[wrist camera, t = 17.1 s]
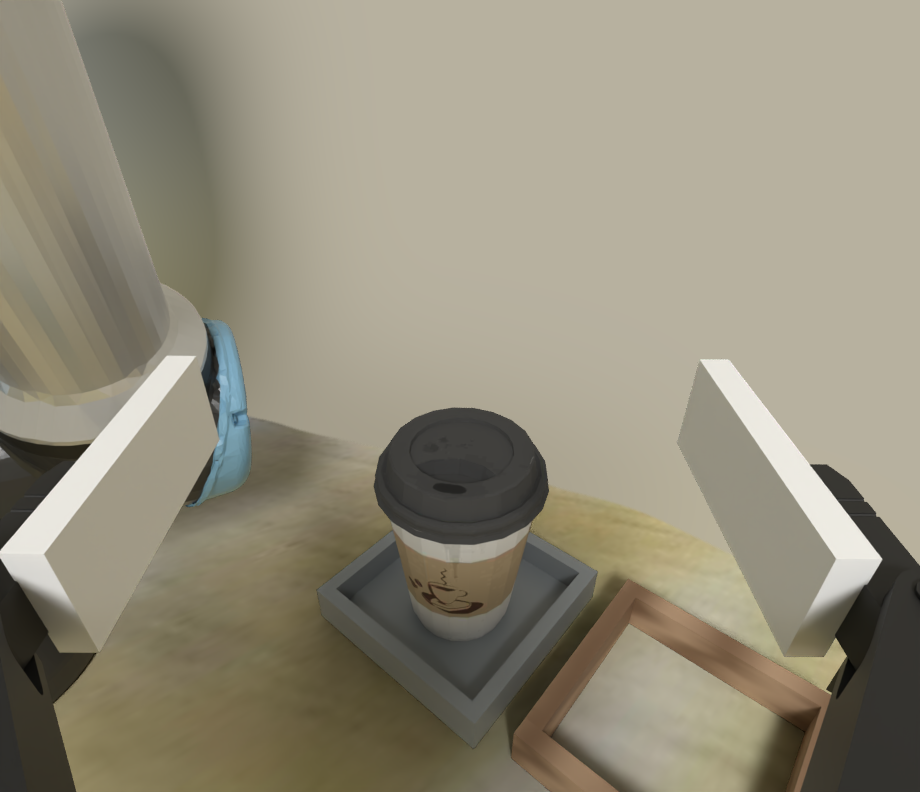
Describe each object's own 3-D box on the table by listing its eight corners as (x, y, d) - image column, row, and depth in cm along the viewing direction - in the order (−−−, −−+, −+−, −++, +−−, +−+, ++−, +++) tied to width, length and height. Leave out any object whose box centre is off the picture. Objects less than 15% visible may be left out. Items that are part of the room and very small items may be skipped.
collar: (510, 757, 36) (513, 732, 35) (621, 604, 46) (628, 578, 44) (757, 968, 28) (777, 949, 27) (830, 729, 38) (847, 704, 36)
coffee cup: (365, 654, 41) (344, 497, 33) (407, 535, 50) (399, 390, 42) (526, 684, 39) (546, 526, 31) (539, 555, 49) (557, 407, 40)
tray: (321, 615, 45) (316, 590, 43) (449, 509, 54) (449, 485, 53) (473, 749, 37) (474, 724, 35) (592, 596, 46) (597, 571, 45)
